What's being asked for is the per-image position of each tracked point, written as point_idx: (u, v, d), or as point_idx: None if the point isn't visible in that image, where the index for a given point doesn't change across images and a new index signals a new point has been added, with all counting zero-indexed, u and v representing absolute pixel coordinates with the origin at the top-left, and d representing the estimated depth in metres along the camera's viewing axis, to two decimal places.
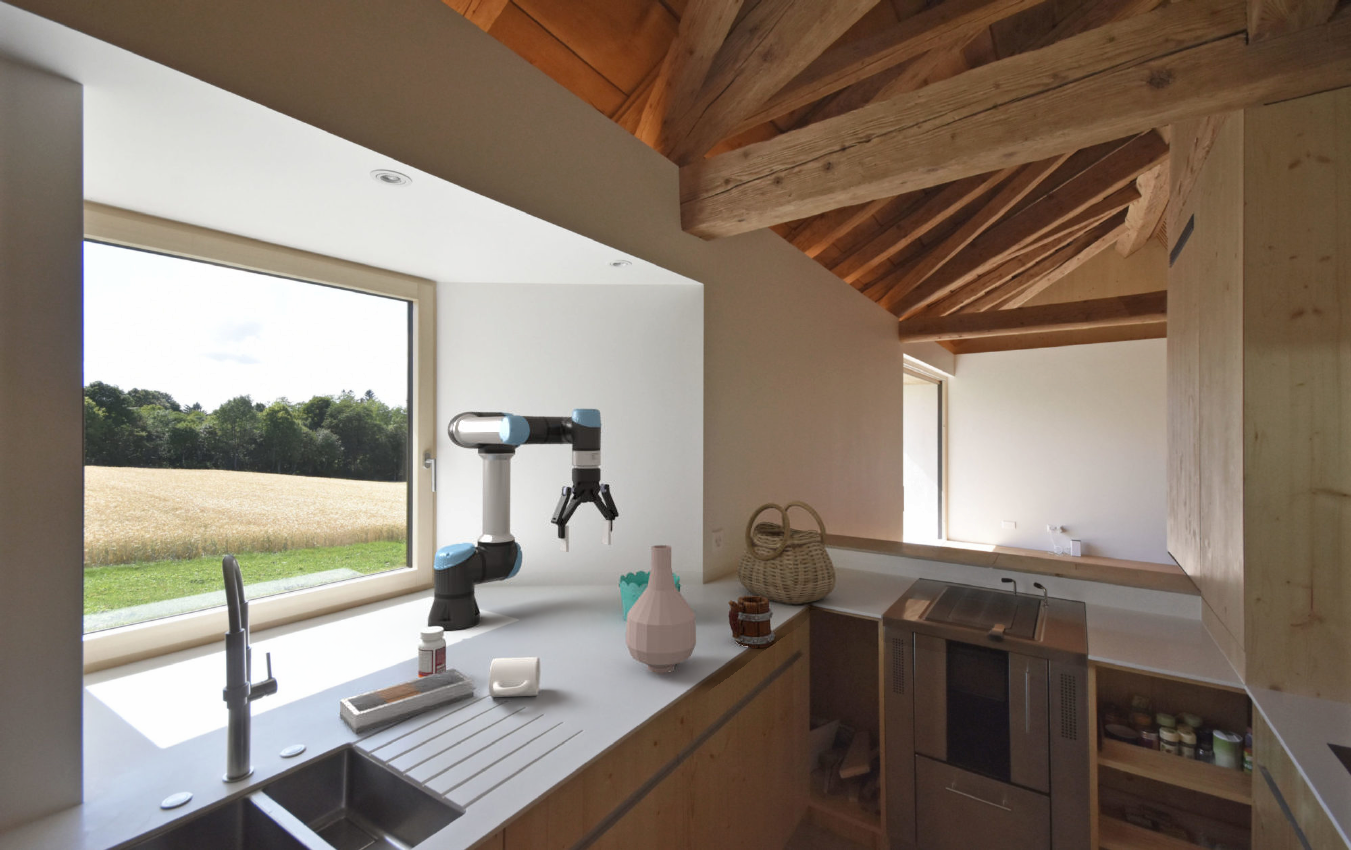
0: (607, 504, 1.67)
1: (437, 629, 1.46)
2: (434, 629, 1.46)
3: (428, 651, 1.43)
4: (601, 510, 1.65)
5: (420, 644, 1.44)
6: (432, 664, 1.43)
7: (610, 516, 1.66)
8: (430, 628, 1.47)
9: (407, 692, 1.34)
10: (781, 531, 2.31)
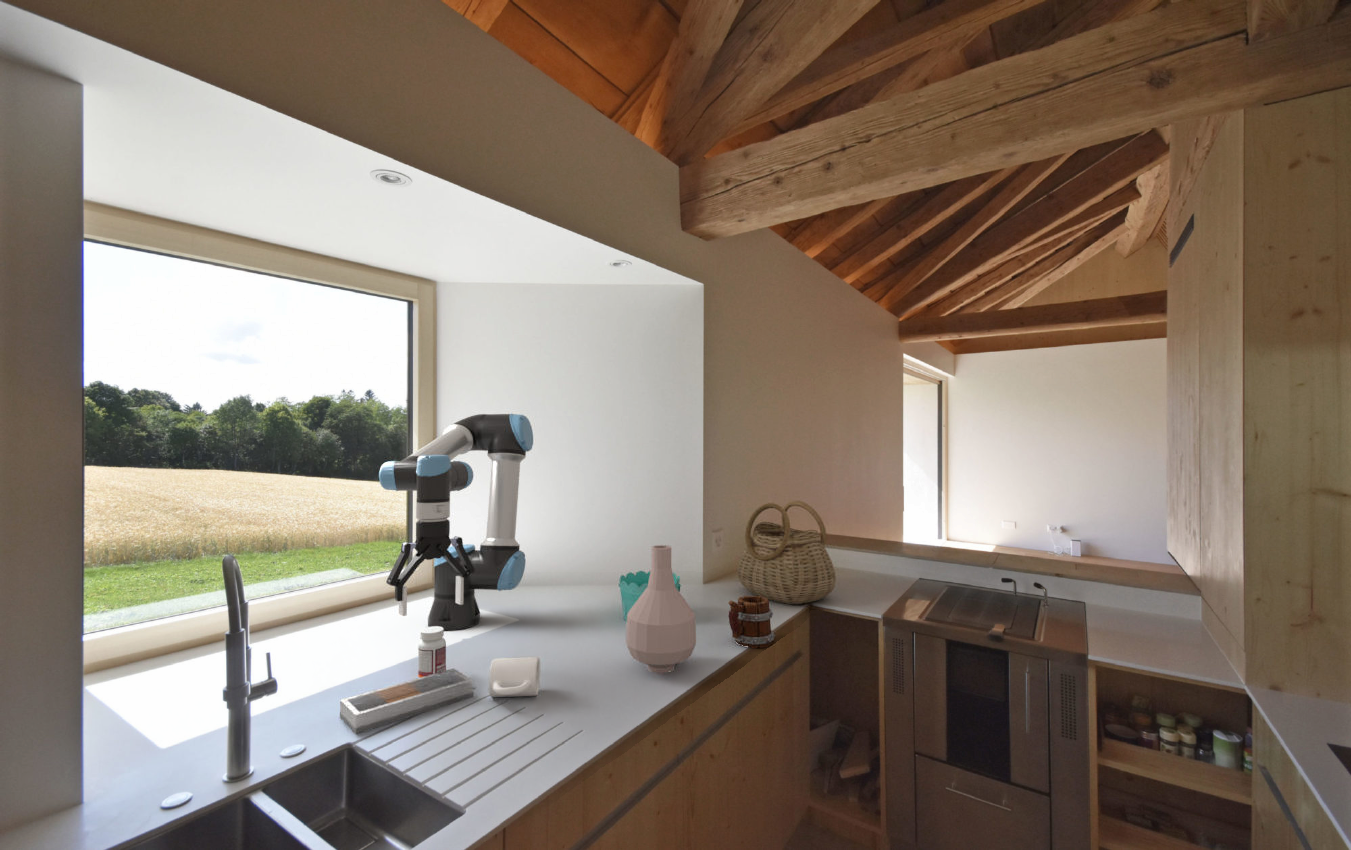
0: (461, 559, 1.51)
1: (437, 629, 1.46)
2: (434, 629, 1.46)
3: (428, 651, 1.43)
4: (453, 566, 1.50)
5: (420, 644, 1.44)
6: (432, 664, 1.43)
7: (463, 572, 1.50)
8: (430, 628, 1.47)
9: (407, 692, 1.34)
10: (781, 531, 2.31)
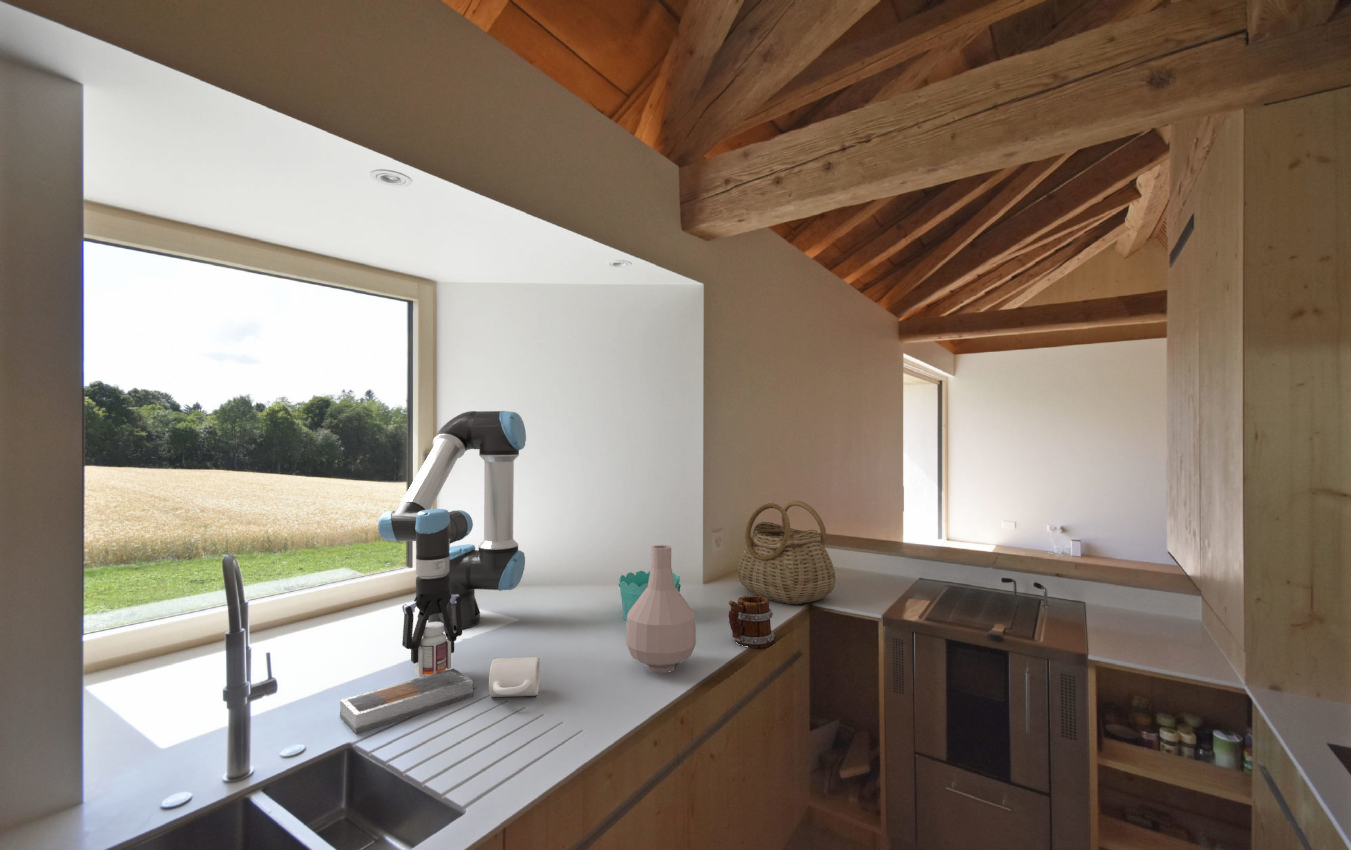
0: (453, 618, 1.50)
1: (438, 624, 1.47)
2: (434, 625, 1.46)
3: (429, 647, 1.43)
4: (444, 626, 1.48)
5: (421, 640, 1.44)
6: (432, 660, 1.44)
7: (451, 635, 1.48)
8: (430, 624, 1.47)
9: (407, 692, 1.34)
10: (781, 531, 2.31)
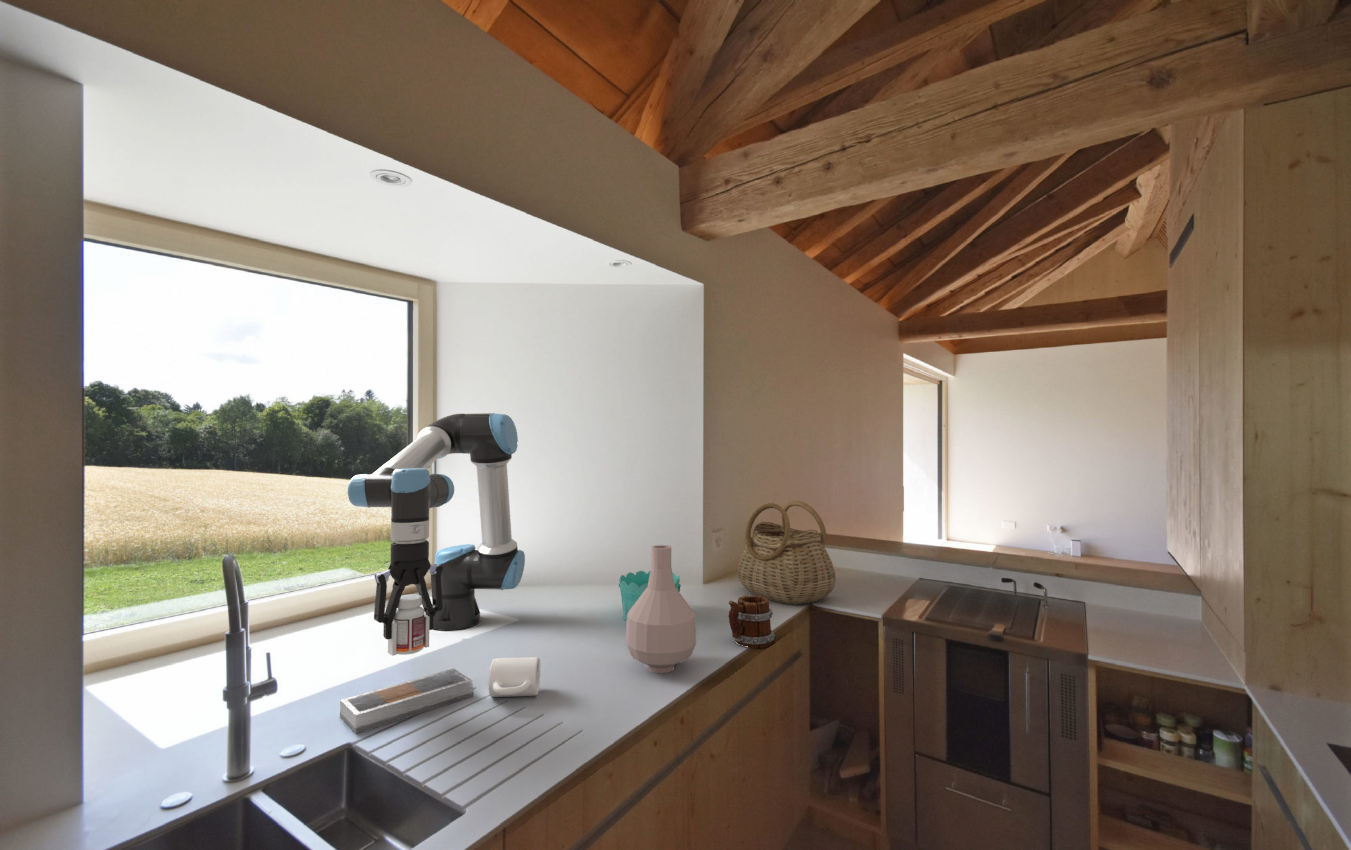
0: (433, 591, 1.34)
1: (415, 596, 1.31)
2: (411, 597, 1.30)
3: (404, 621, 1.27)
4: (422, 599, 1.32)
5: (395, 613, 1.28)
6: (408, 636, 1.27)
7: (430, 610, 1.32)
8: (407, 596, 1.31)
9: (407, 692, 1.34)
10: (781, 531, 2.31)
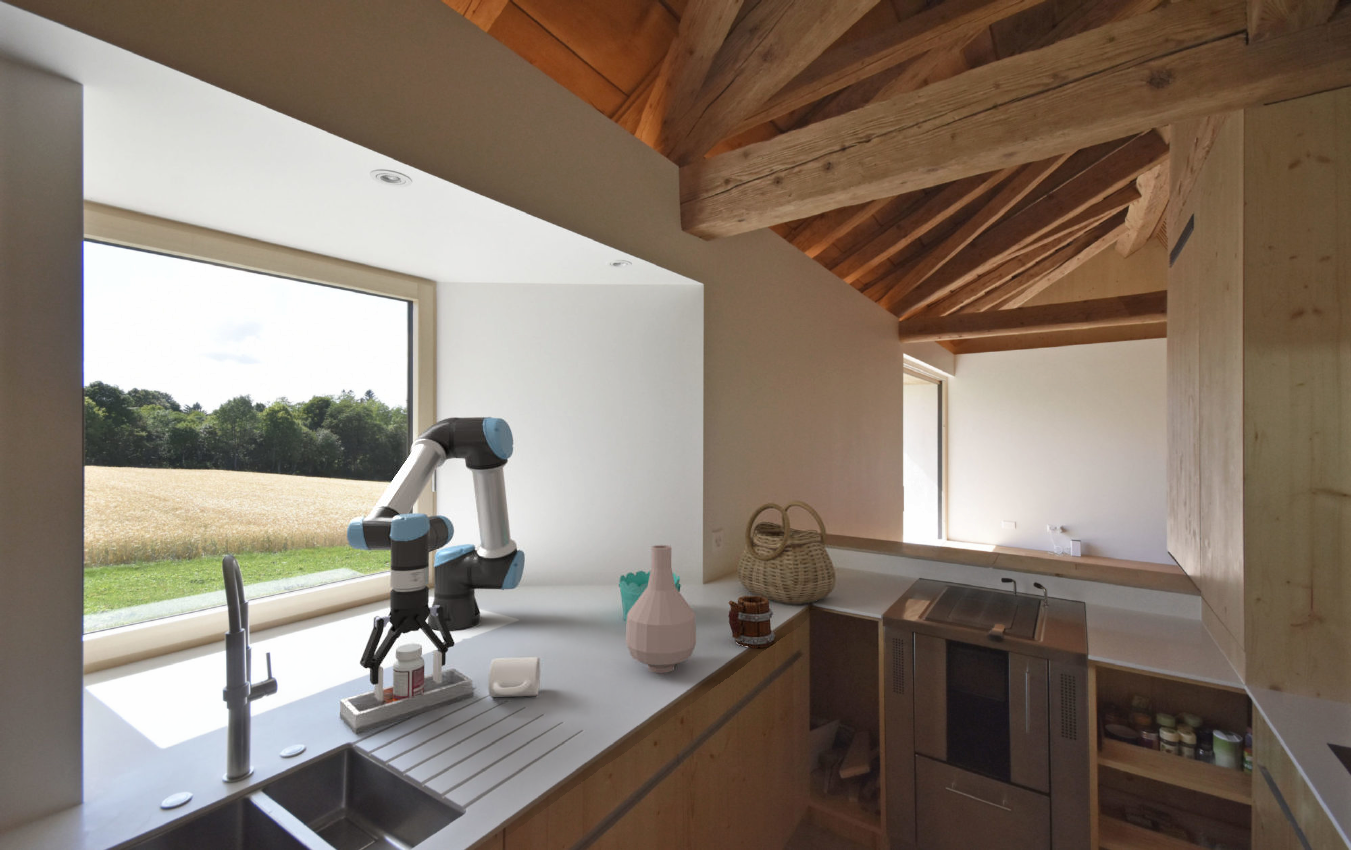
0: (440, 630, 1.36)
1: (415, 647, 1.31)
2: (411, 647, 1.31)
3: (404, 672, 1.27)
4: (430, 639, 1.34)
5: (395, 664, 1.28)
6: (408, 687, 1.28)
7: (441, 647, 1.34)
8: (407, 646, 1.31)
9: None
10: (781, 531, 2.31)
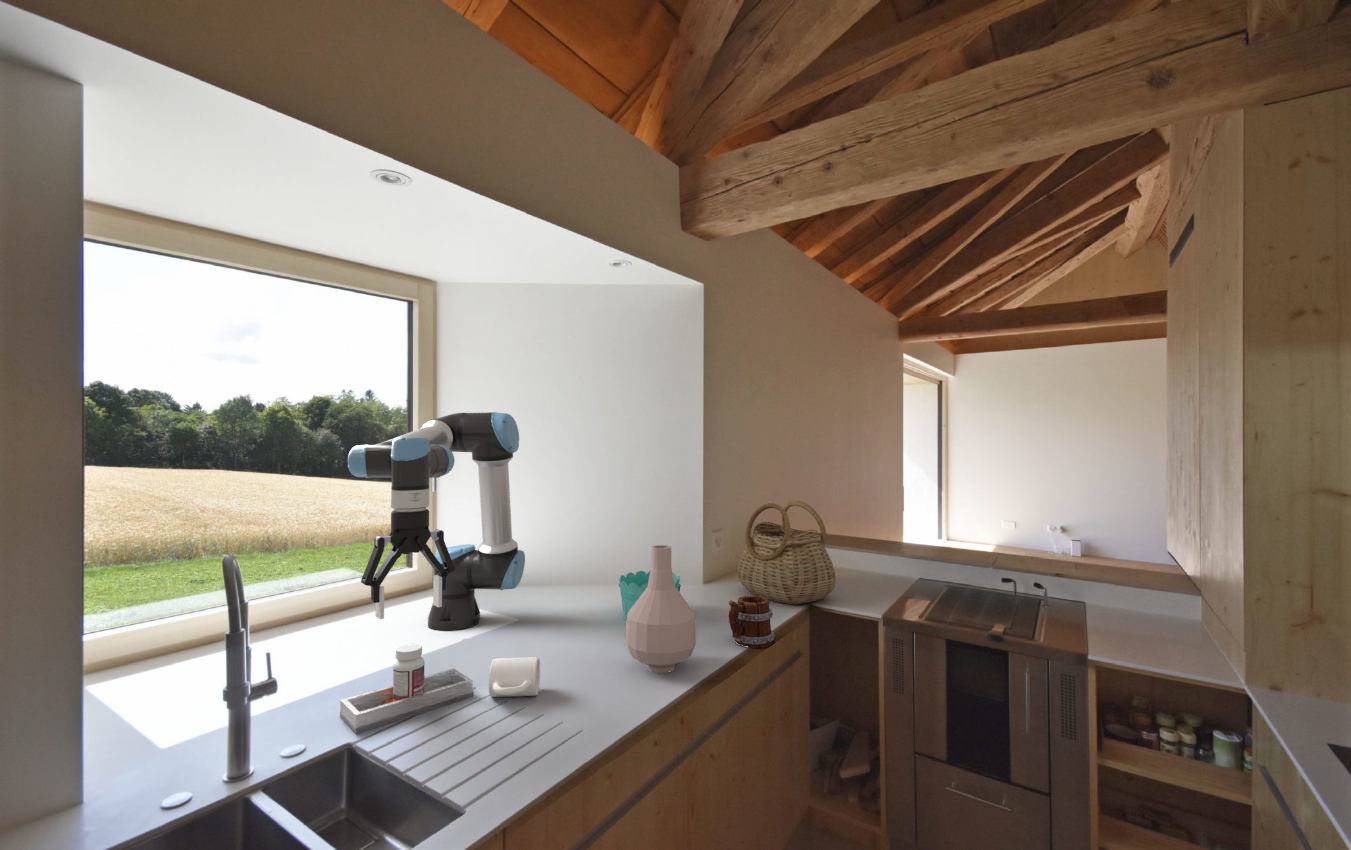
0: (441, 555, 1.36)
1: (415, 647, 1.31)
2: (411, 647, 1.31)
3: (404, 672, 1.27)
4: (431, 563, 1.34)
5: (395, 664, 1.28)
6: (408, 687, 1.28)
7: (442, 571, 1.34)
8: (407, 646, 1.31)
9: None
10: (781, 531, 2.31)
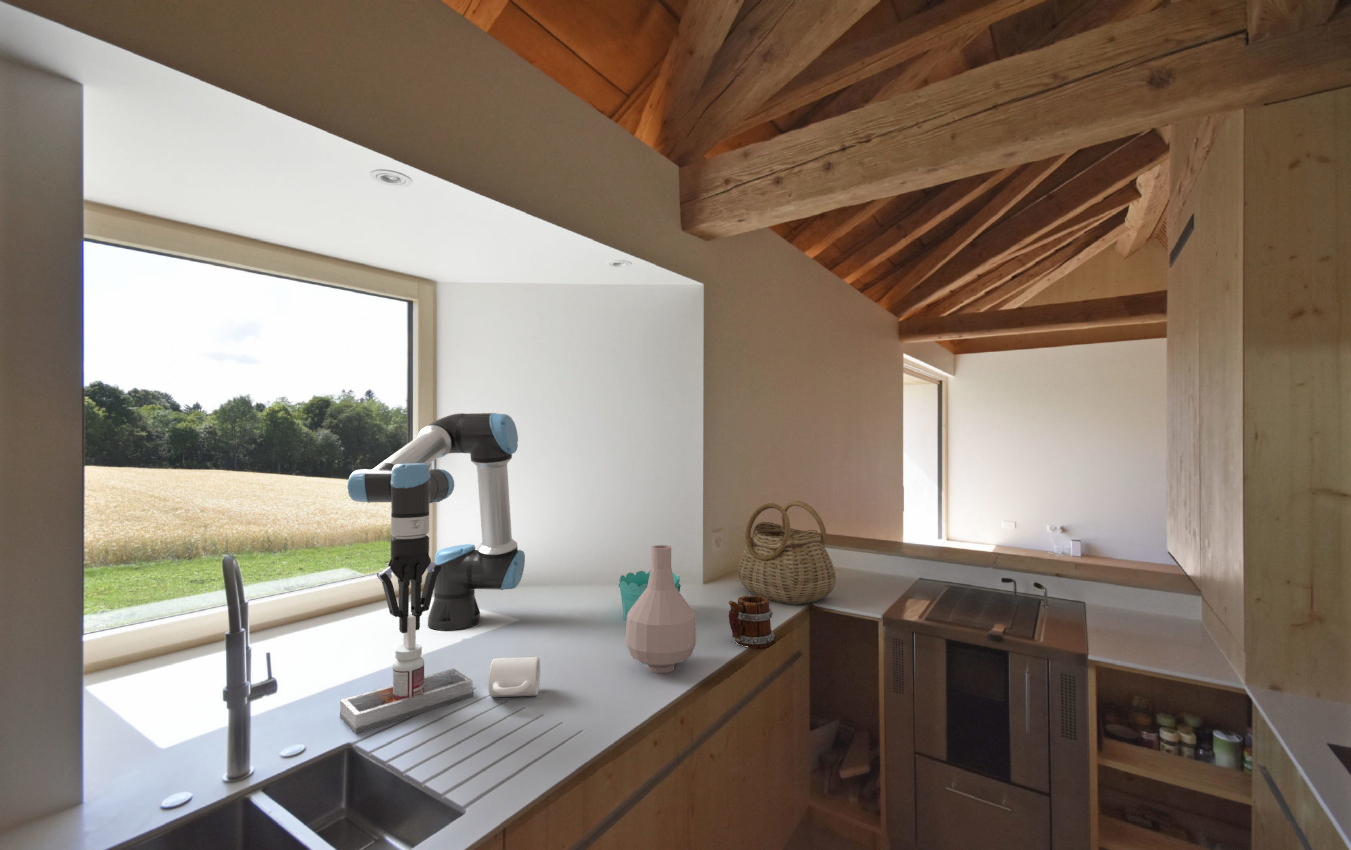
0: (424, 589, 1.33)
1: (415, 647, 1.31)
2: None
3: (404, 672, 1.27)
4: (412, 596, 1.31)
5: (395, 664, 1.28)
6: (408, 687, 1.28)
7: (417, 609, 1.30)
8: None
9: None
10: (781, 531, 2.31)
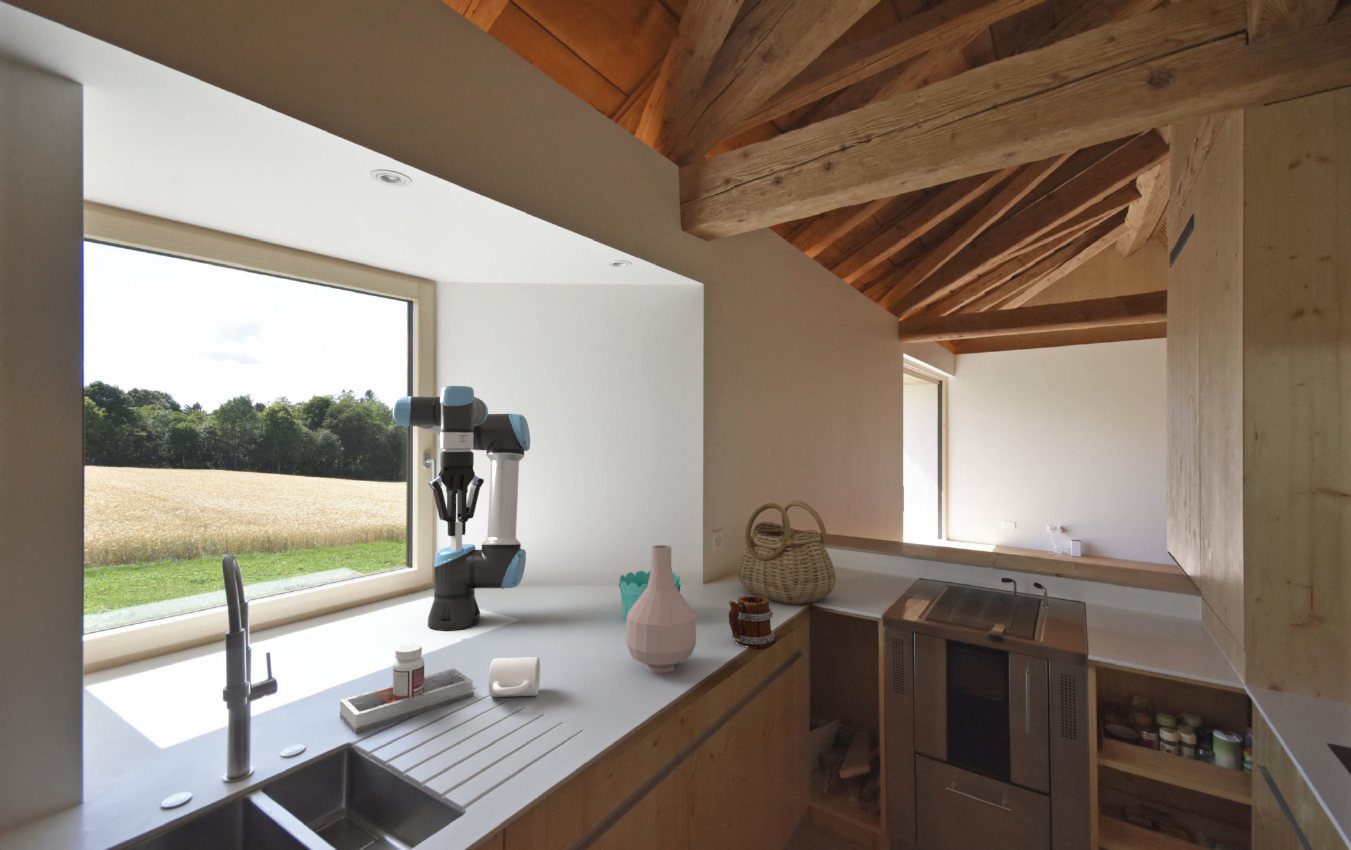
0: (469, 500, 1.49)
1: (415, 647, 1.31)
2: (411, 647, 1.31)
3: (404, 672, 1.27)
4: (459, 505, 1.47)
5: (395, 664, 1.28)
6: (408, 687, 1.28)
7: (463, 516, 1.46)
8: (406, 646, 1.31)
9: None
10: (781, 531, 2.31)
